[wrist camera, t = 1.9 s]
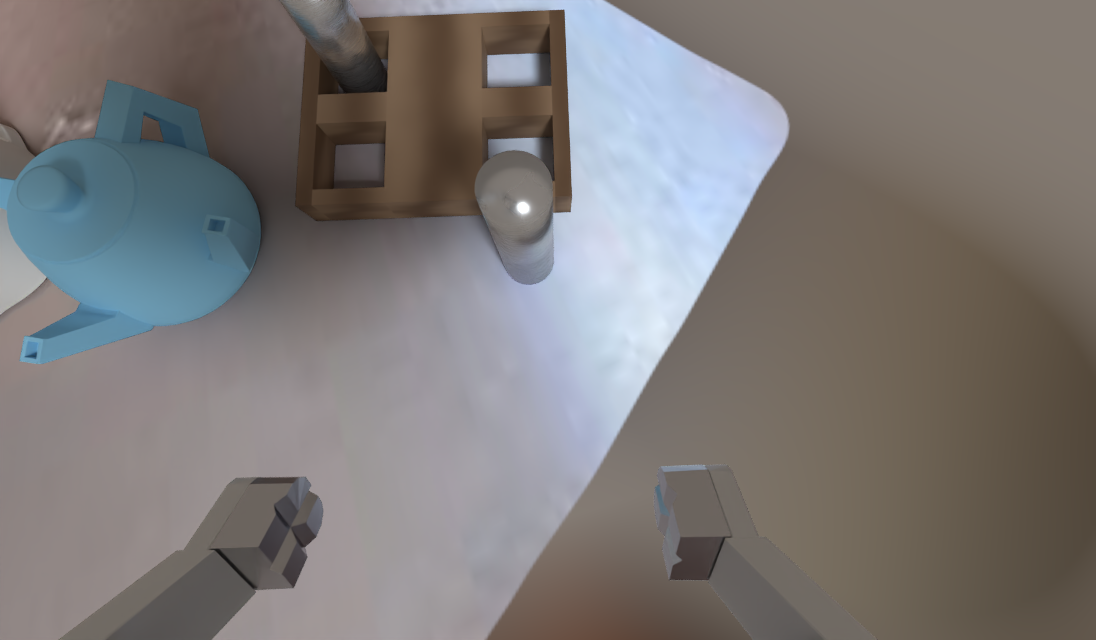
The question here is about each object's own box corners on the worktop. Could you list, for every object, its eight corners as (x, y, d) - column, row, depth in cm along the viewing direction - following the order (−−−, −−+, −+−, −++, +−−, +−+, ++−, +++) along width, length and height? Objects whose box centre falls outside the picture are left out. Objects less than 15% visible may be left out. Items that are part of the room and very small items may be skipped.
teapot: (317, 273, 35) (213, 223, 25) (150, 376, 34) (-33, 370, 23) (233, 130, 37) (104, 27, 27) (73, 222, 36) (-127, 153, 26)
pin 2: (504, 285, 35) (474, 225, 22) (504, 237, 35) (474, 151, 22) (554, 283, 35) (553, 222, 22) (553, 236, 35) (551, 149, 22)
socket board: (316, 220, 36) (295, 205, 33) (326, 48, 38) (307, 20, 35) (570, 211, 36) (571, 195, 33) (563, 39, 38) (564, 9, 35)
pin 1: (346, 109, 37) (236, -37, 24) (348, 68, 38) (241, -96, 25) (392, 108, 37) (306, -39, 24) (393, 66, 38) (310, -99, 25)
